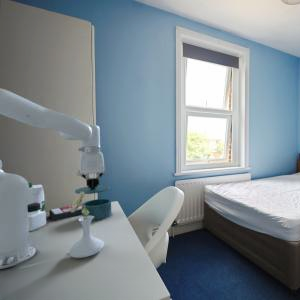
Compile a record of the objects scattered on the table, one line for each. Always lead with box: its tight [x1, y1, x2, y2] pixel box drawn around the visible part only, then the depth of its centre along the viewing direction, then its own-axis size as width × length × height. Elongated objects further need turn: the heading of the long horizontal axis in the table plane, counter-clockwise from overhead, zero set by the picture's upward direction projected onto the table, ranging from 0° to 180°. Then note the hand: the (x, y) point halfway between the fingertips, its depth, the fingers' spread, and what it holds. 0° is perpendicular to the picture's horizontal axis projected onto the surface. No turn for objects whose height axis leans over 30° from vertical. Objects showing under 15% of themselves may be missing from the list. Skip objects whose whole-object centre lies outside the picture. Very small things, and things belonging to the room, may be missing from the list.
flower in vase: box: [68, 192, 105, 259], centre depth 79 cm, size 13×11×25 cm
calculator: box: [48, 204, 82, 222], centre depth 118 cm, size 11×4×15 cm
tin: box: [81, 198, 112, 222], centre depth 115 cm, size 14×14×8 cm
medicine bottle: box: [27, 203, 47, 232], centre depth 102 cm, size 7×7×12 cm
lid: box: [74, 177, 111, 195], centre depth 103 cm, size 15×15×6 cm
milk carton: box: [27, 182, 46, 212], centre depth 111 cm, size 9×9×20 cm
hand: (93, 186), depth 103 cm, fingers closed on lid, 2 cm apart
